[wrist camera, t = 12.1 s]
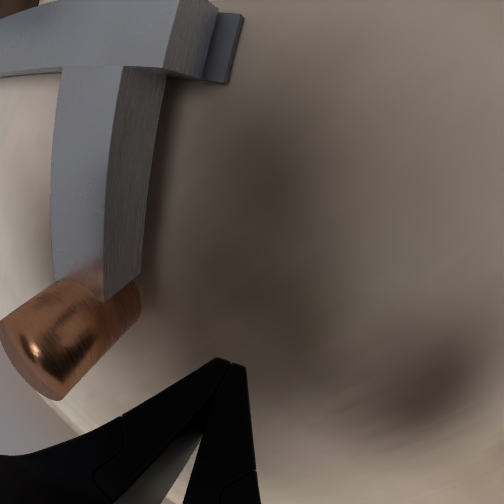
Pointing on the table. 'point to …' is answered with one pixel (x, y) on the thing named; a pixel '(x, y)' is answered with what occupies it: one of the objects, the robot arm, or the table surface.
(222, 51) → the mount
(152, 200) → the table surface
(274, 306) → the table surface
